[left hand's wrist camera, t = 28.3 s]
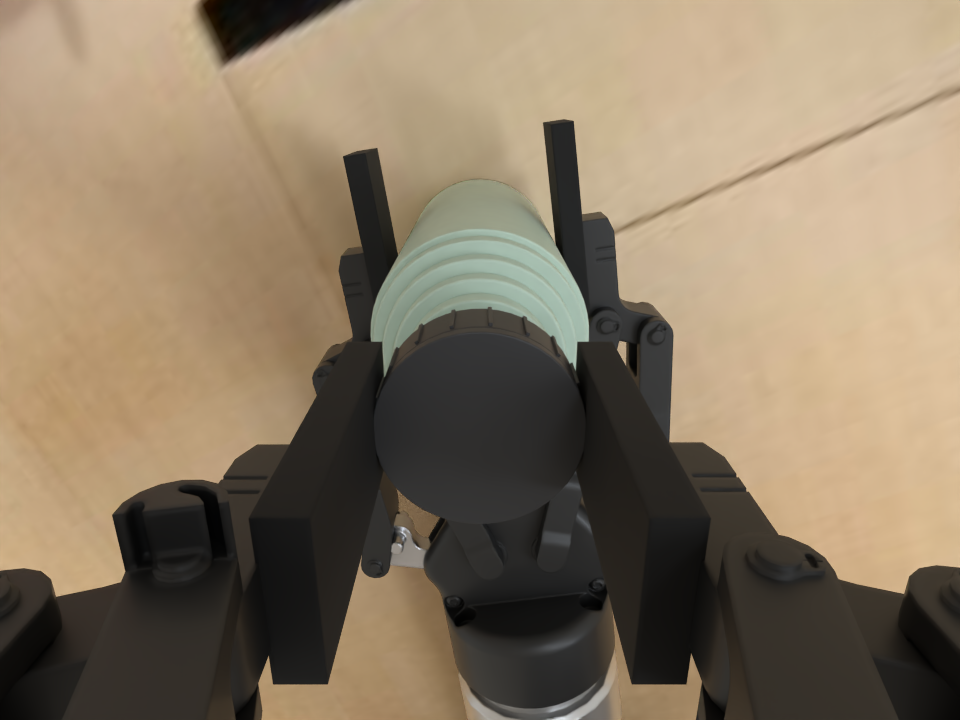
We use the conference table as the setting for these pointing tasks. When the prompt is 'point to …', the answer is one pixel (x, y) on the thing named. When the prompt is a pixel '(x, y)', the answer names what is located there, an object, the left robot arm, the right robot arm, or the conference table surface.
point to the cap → (479, 417)
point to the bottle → (479, 268)
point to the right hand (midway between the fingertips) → (458, 138)
